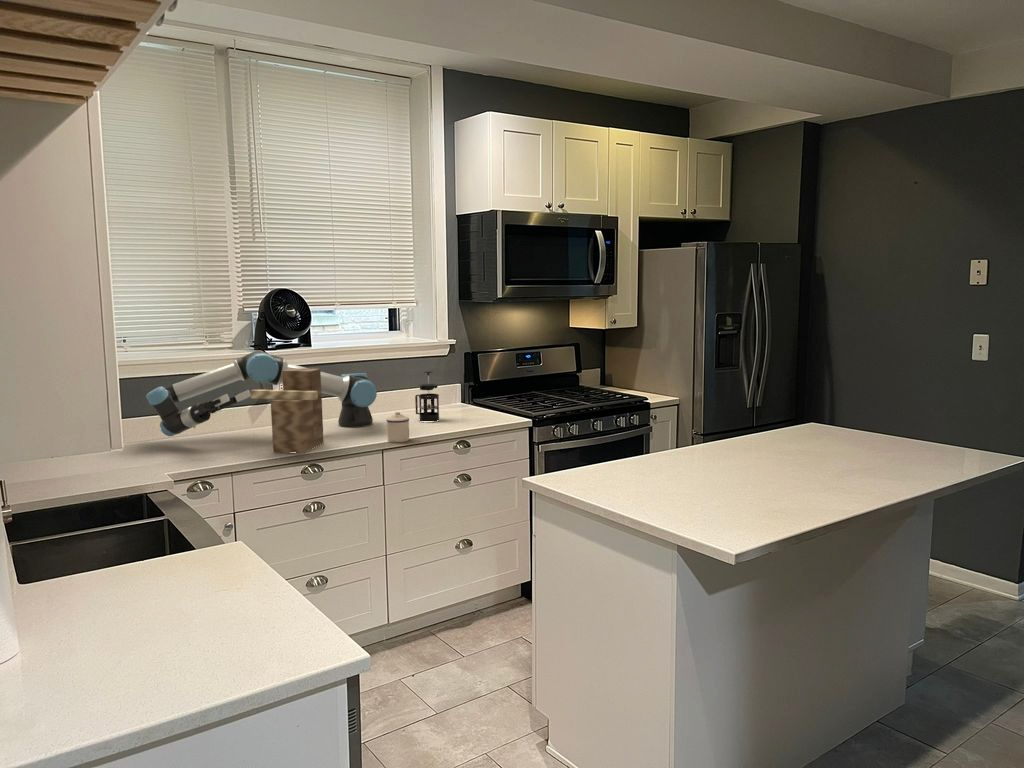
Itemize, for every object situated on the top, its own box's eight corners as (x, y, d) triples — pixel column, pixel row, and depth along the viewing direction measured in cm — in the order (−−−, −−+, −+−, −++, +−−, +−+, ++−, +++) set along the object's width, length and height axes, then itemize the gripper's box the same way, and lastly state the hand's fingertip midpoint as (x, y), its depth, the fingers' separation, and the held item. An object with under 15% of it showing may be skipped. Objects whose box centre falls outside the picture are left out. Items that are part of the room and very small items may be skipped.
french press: (444, 419, 347) (443, 370, 344) (436, 423, 338) (435, 372, 335) (420, 418, 351) (419, 369, 347) (412, 422, 342) (411, 371, 338)
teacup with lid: (414, 440, 304) (413, 412, 302) (395, 443, 297) (394, 414, 296) (397, 435, 312) (396, 408, 310) (378, 439, 306) (377, 411, 304)
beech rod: (250, 398, 286) (250, 390, 286) (255, 397, 289) (254, 389, 289) (314, 400, 281) (313, 392, 281) (317, 398, 284) (317, 390, 284)
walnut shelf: (273, 452, 284) (269, 374, 280) (295, 442, 301) (292, 368, 297) (302, 453, 282) (298, 374, 277) (323, 443, 299) (320, 368, 295)
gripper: (220, 418, 304) (261, 399, 298) (178, 429, 280) (222, 408, 274) (213, 401, 304) (254, 382, 298) (170, 410, 280) (214, 389, 274)
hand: (239, 395), depth 286 cm, fingers open, 13 cm apart
